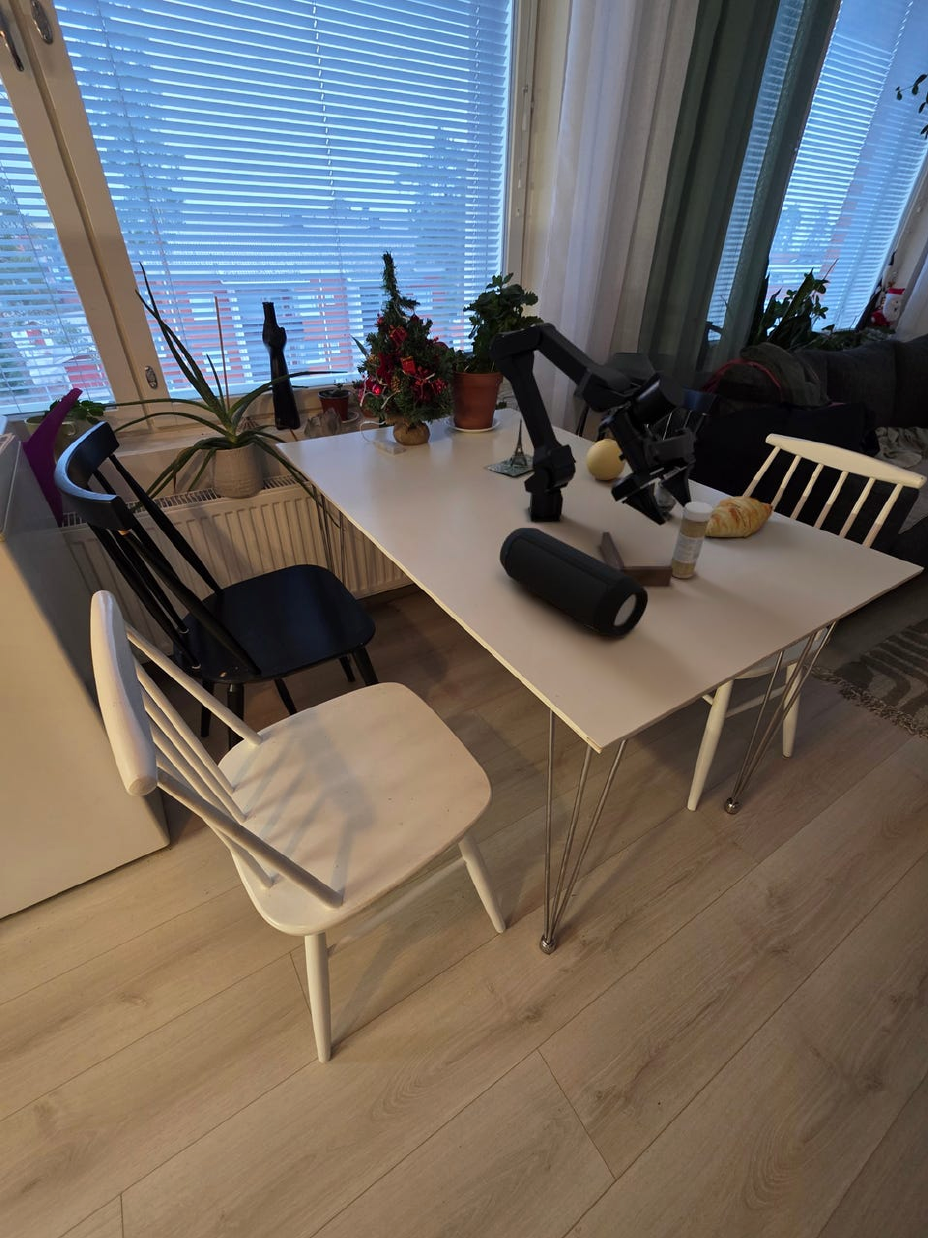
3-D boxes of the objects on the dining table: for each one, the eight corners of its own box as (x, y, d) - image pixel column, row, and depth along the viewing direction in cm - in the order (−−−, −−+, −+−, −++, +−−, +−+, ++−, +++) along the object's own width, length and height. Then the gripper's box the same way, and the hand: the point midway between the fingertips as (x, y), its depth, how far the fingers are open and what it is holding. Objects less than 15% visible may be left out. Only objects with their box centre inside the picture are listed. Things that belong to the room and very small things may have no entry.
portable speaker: (644, 628, 84) (657, 574, 79) (603, 652, 80) (614, 597, 74) (534, 564, 101) (538, 516, 95) (494, 581, 96) (496, 531, 90)
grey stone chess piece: (674, 522, 115) (688, 468, 108) (646, 519, 116) (658, 466, 109) (671, 510, 120) (684, 459, 113) (644, 508, 121) (655, 457, 114)
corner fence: (616, 586, 95) (620, 569, 92) (600, 547, 106) (602, 531, 104) (668, 586, 94) (673, 569, 92) (646, 547, 106) (650, 531, 104)
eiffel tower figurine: (514, 478, 136) (517, 425, 128) (486, 468, 142) (487, 417, 134) (551, 464, 144) (556, 414, 136) (523, 455, 150) (526, 406, 142)
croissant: (705, 558, 109) (730, 535, 102) (677, 521, 112) (700, 496, 106) (771, 533, 117) (799, 510, 110) (743, 499, 121) (768, 475, 114)
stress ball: (623, 487, 131) (631, 447, 125) (583, 484, 133) (589, 445, 127) (621, 472, 139) (628, 434, 133) (583, 470, 141) (588, 432, 135)
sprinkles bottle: (680, 565, 100) (699, 498, 93) (698, 576, 97) (719, 508, 89) (662, 570, 99) (679, 503, 91) (680, 582, 96) (699, 513, 88)
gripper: (639, 424, 82) (686, 511, 82) (699, 403, 92) (741, 481, 92) (591, 461, 92) (634, 539, 92) (650, 438, 102) (689, 509, 102)
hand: (676, 516), depth 94 cm, fingers open, 9 cm apart
